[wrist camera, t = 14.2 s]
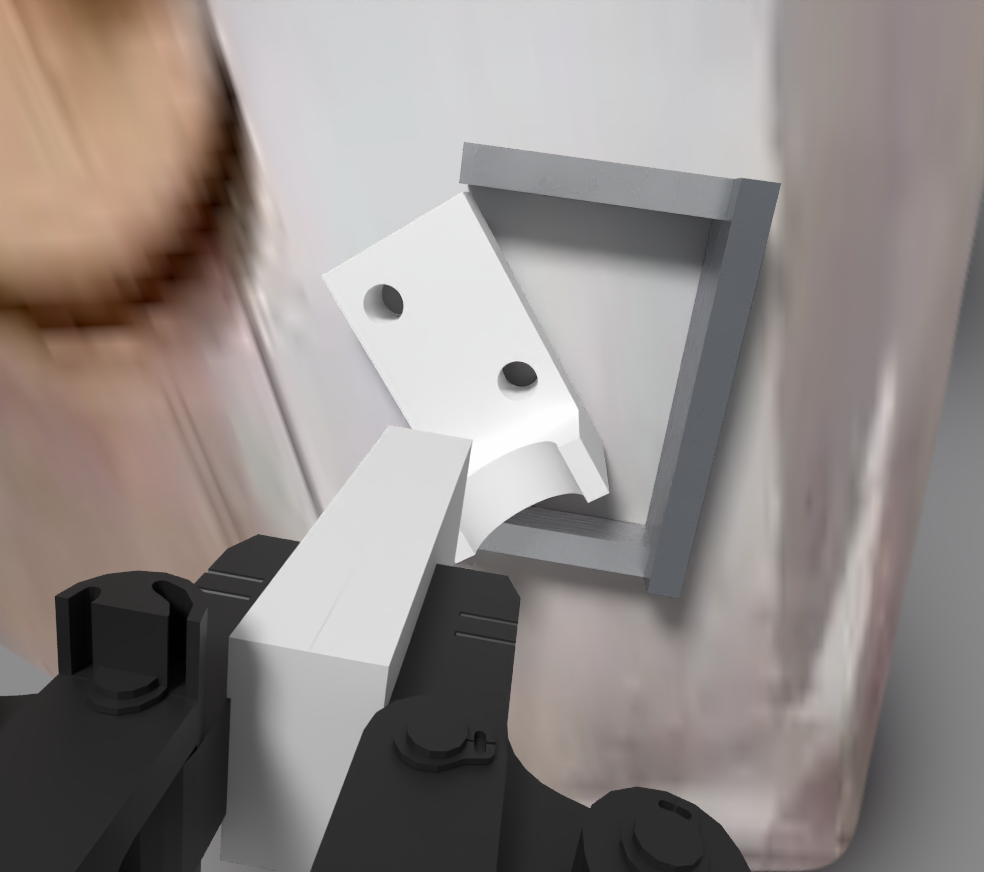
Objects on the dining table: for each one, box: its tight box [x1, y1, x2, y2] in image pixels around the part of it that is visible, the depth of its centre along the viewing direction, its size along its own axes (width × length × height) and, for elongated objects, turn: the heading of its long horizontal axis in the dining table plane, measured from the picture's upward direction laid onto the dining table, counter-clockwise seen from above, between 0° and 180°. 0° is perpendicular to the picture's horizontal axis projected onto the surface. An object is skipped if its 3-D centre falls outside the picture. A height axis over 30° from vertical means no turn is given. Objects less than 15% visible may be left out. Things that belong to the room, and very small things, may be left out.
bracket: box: [321, 192, 609, 563], centre depth 32 cm, size 13×7×8 cm, turn 29°
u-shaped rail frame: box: [459, 142, 781, 599], centre depth 33 cm, size 12×18×4 cm
